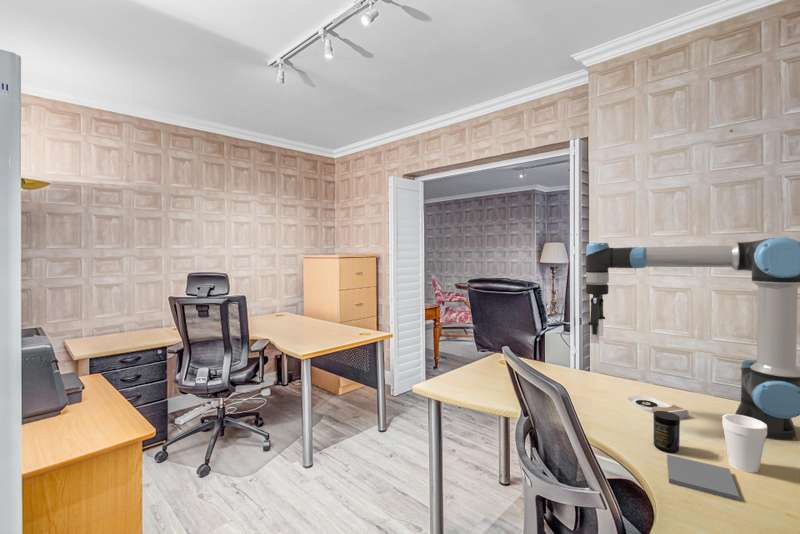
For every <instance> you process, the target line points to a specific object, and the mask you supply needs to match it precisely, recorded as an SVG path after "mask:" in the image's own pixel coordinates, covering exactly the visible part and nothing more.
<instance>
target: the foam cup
mask: <svg viewBox="0 0 800 534" xmlns="http://www.w3.org/2000/svg"><path fill="white" fill-rule="evenodd" d="M722 428H723V433H724V440H725V448H726V452H727V454H726V455H727V460H728V464H729V465H730V466H731V467H732V468H734V469H737V470H739V471H741V472H742V471H743V472H746V473H755V474H756V473H757V472H759V470H760V466H761V461H762V457H763V452H764V447H765V442H766V441H765V440H766V438H767V437H766V436H767V424H765V423H764V422H762V421H760V420H757V419H755V418H751V417H747V416H743V415H736V414H735V413H731V414H730V413H726V414H723V415H722Z"/></svg>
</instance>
